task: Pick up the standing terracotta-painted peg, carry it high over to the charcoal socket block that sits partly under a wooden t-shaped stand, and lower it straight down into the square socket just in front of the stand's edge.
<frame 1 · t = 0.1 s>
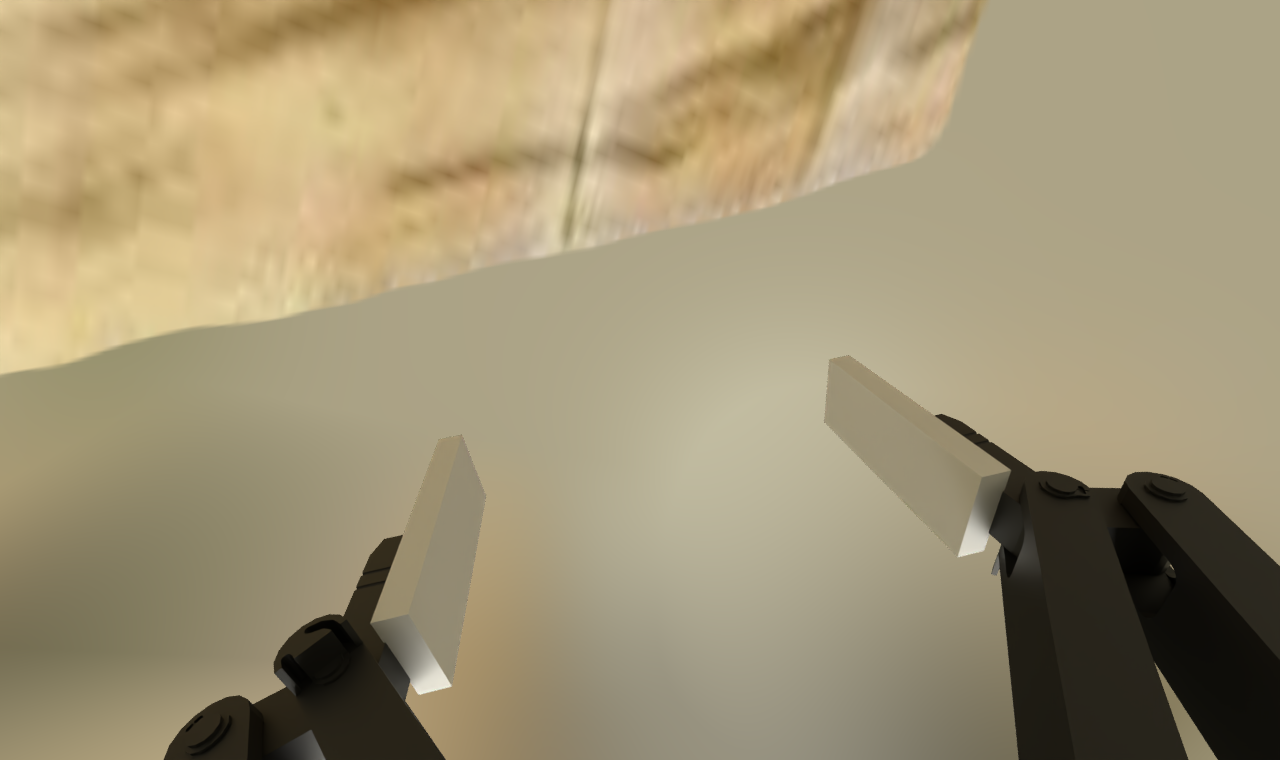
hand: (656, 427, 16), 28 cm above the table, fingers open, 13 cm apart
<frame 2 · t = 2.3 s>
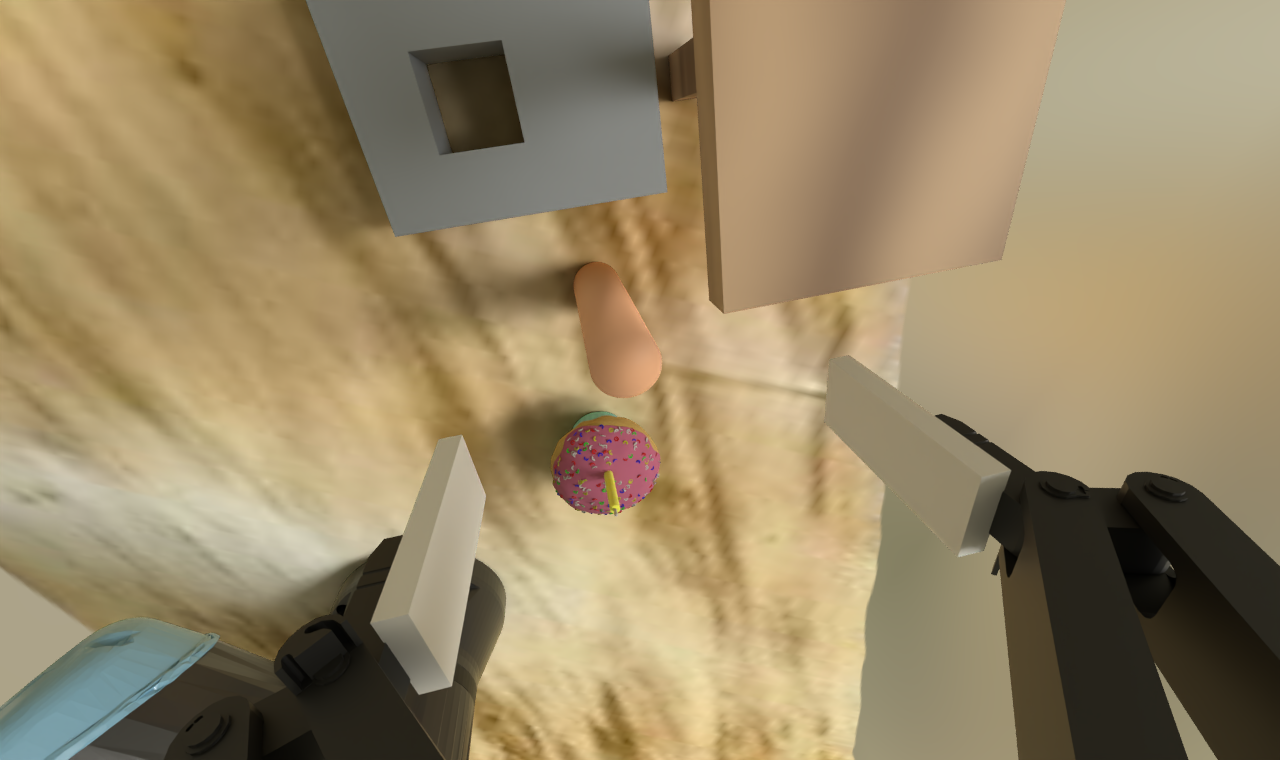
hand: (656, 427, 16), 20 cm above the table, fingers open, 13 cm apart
socket block: (512, 101, 27), on the table
cupcake: (600, 433, 39), on the table
wooden t-shaped stand: (688, 76, 28), on the table
peg: (596, 285, 33), on the table
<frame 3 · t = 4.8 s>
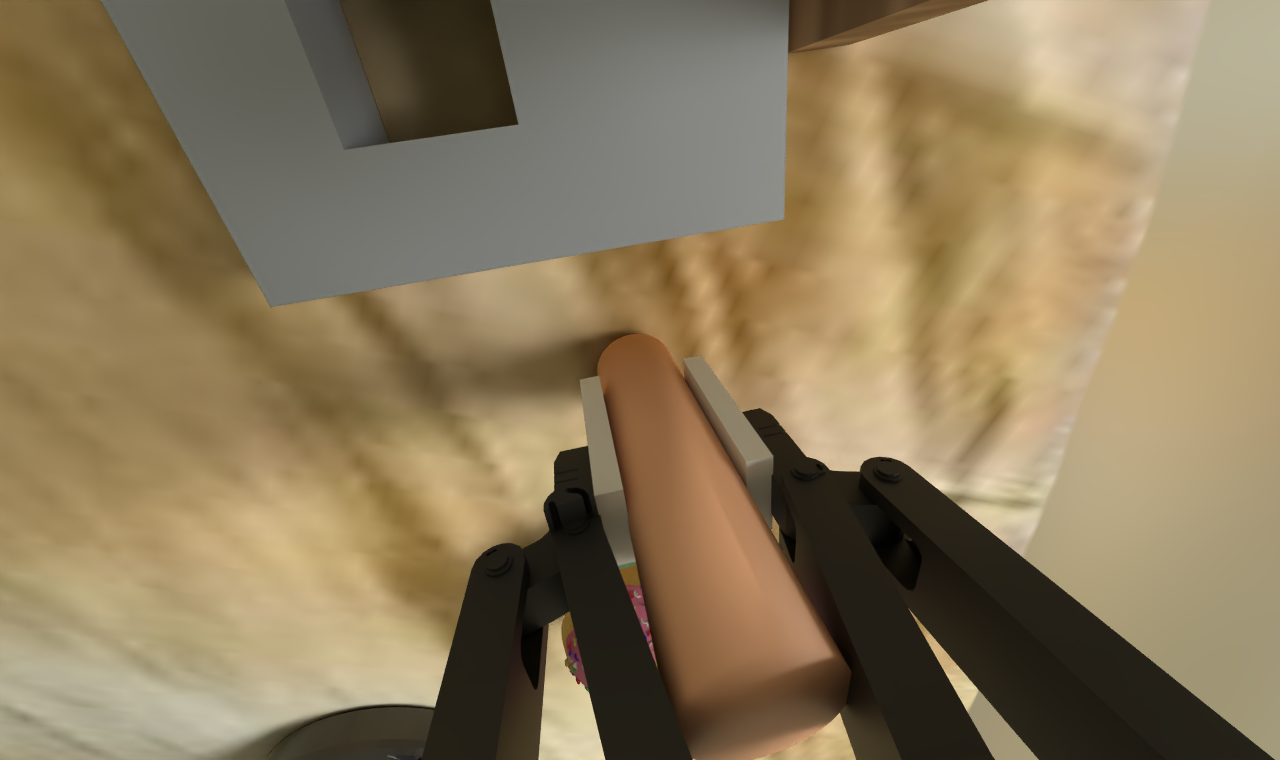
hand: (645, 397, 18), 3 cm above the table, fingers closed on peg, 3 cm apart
socket block: (499, 48, 15), on the table
cupcake: (633, 557, 27), on the table
wooden t-shaped stand: (819, 6, 16), on the table
peg: (635, 369, 20), point 1 cm above the table, touching gripper
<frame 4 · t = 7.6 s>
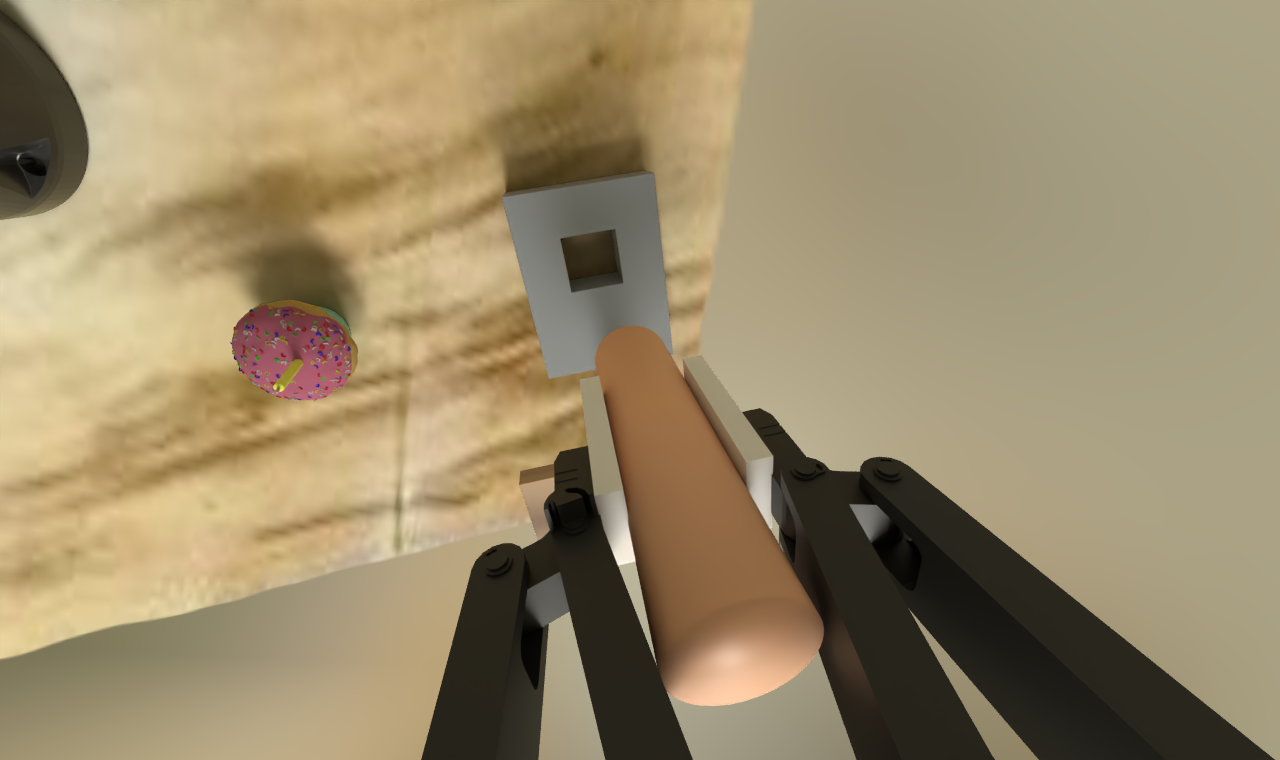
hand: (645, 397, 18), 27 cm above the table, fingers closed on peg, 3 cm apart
socket block: (593, 272, 43), on the table
cupcake: (322, 331, 41), on the table
wooden t-shaped stand: (611, 374, 48), on the table
peg: (631, 359, 21), point 24 cm above the table, touching gripper
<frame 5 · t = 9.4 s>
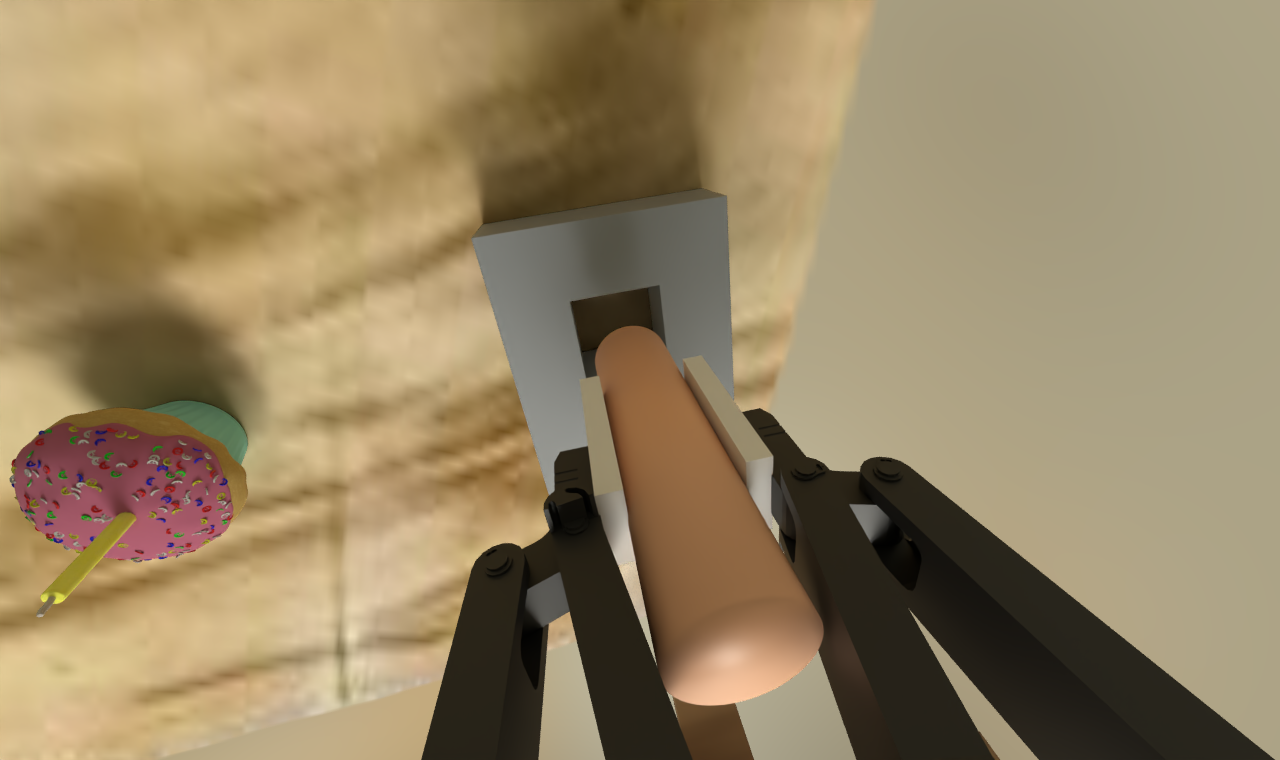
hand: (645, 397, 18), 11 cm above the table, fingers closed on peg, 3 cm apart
socket block: (617, 340, 28), on the table
cupcake: (202, 435, 27), on the table
wooden t-shaped stand: (640, 475, 34), on the table
peg: (631, 360, 21), point 7 cm above the table, touching gripper
when the fingers open (4 cm above the table, at t = 11.2 s): peg stays where it is, resting in socket block.
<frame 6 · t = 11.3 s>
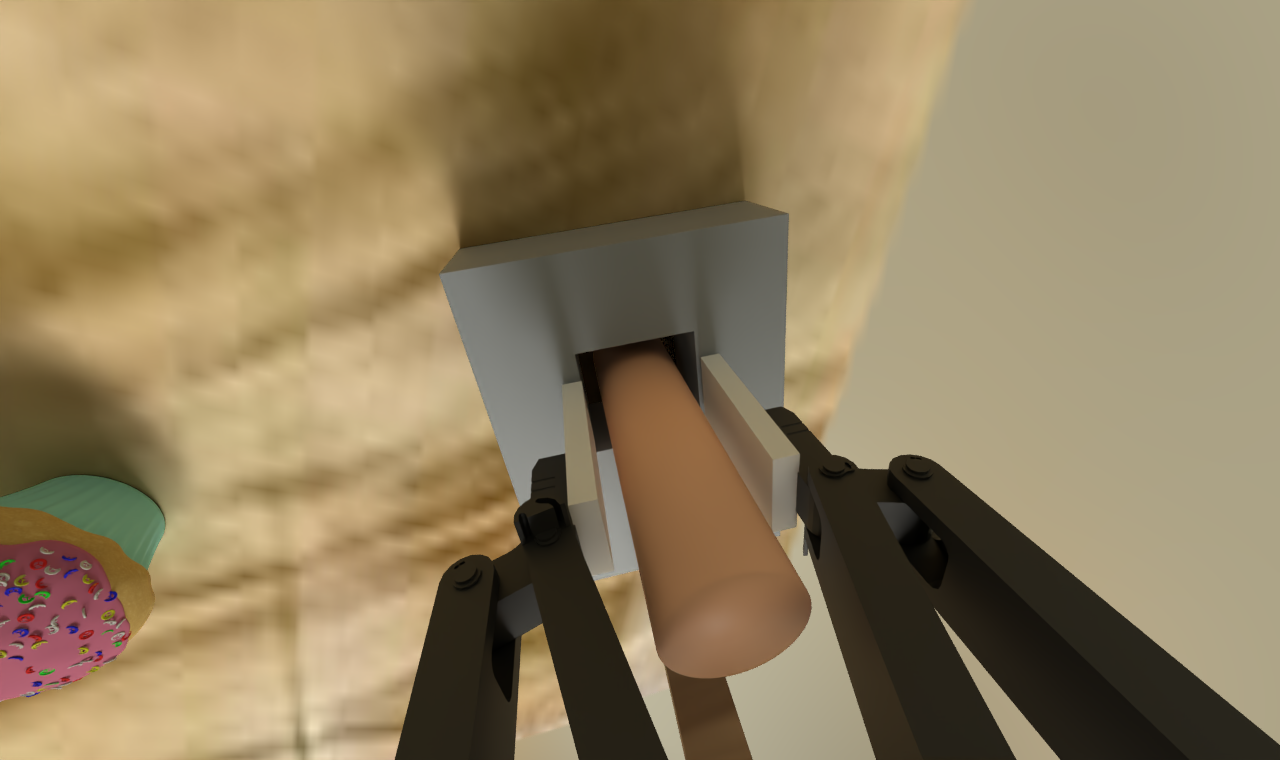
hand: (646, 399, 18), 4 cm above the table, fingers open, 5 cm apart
socket block: (633, 389, 23), on the table
cupcake: (106, 514, 21), on the table
wooden t-shaped stand: (657, 543, 28), on the table
peg: (628, 355, 22), resting in socket block
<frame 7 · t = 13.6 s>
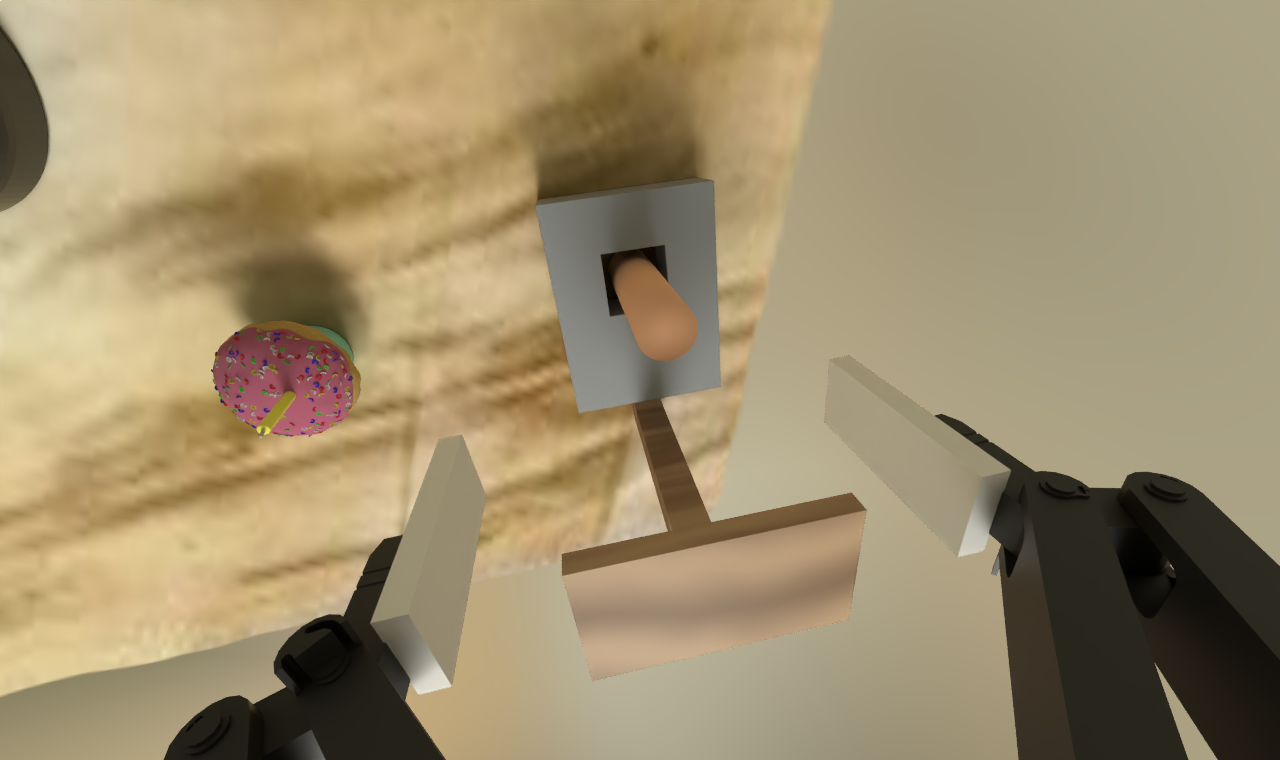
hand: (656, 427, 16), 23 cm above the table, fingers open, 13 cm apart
socket block: (631, 292, 37), on the table
cupcake: (321, 354, 36), on the table
wooden t-shaped stand: (646, 406, 42), on the table
peg: (629, 270, 36), resting in socket block
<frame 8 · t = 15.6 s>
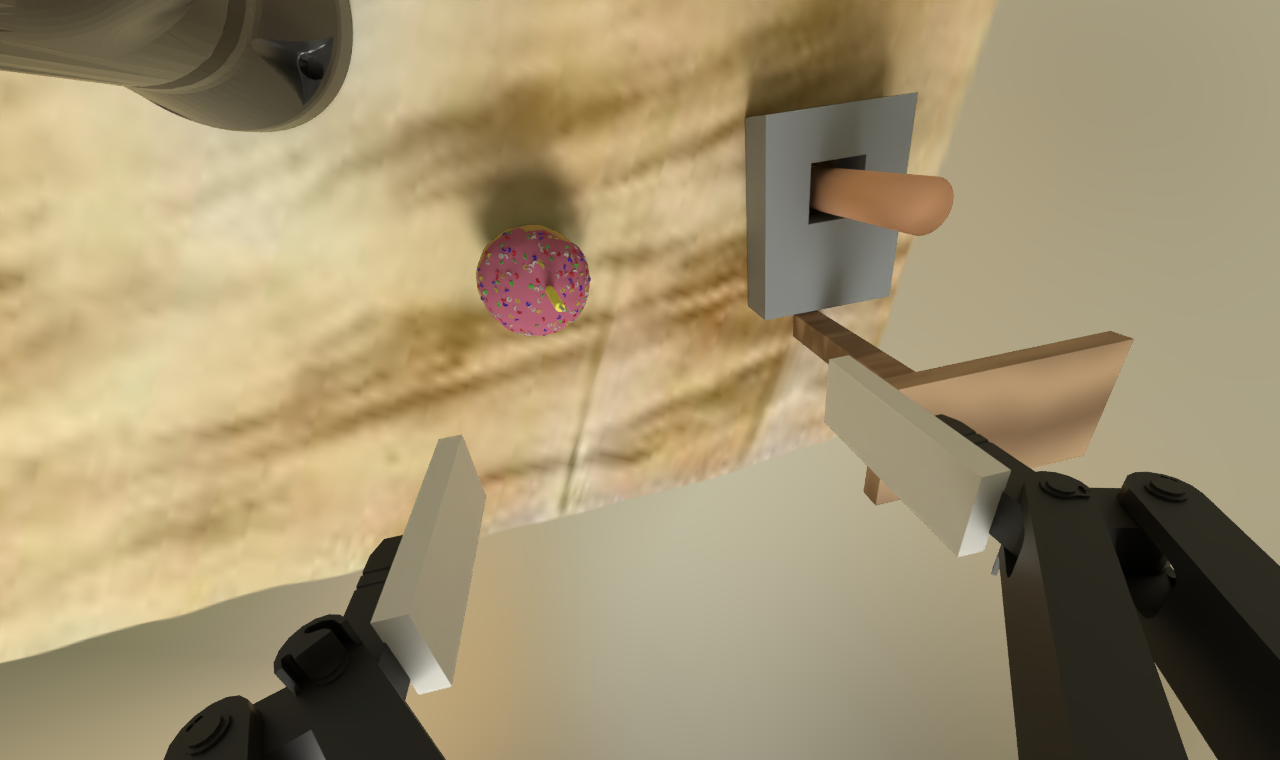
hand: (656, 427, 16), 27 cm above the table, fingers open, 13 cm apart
socket block: (810, 210, 41), on the table
cupcake: (536, 268, 39), on the table
wooden t-shaped stand: (804, 323, 46), on the table
peg: (811, 187, 40), resting in socket block
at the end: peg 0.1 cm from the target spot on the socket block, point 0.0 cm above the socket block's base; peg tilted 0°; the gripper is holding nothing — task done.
